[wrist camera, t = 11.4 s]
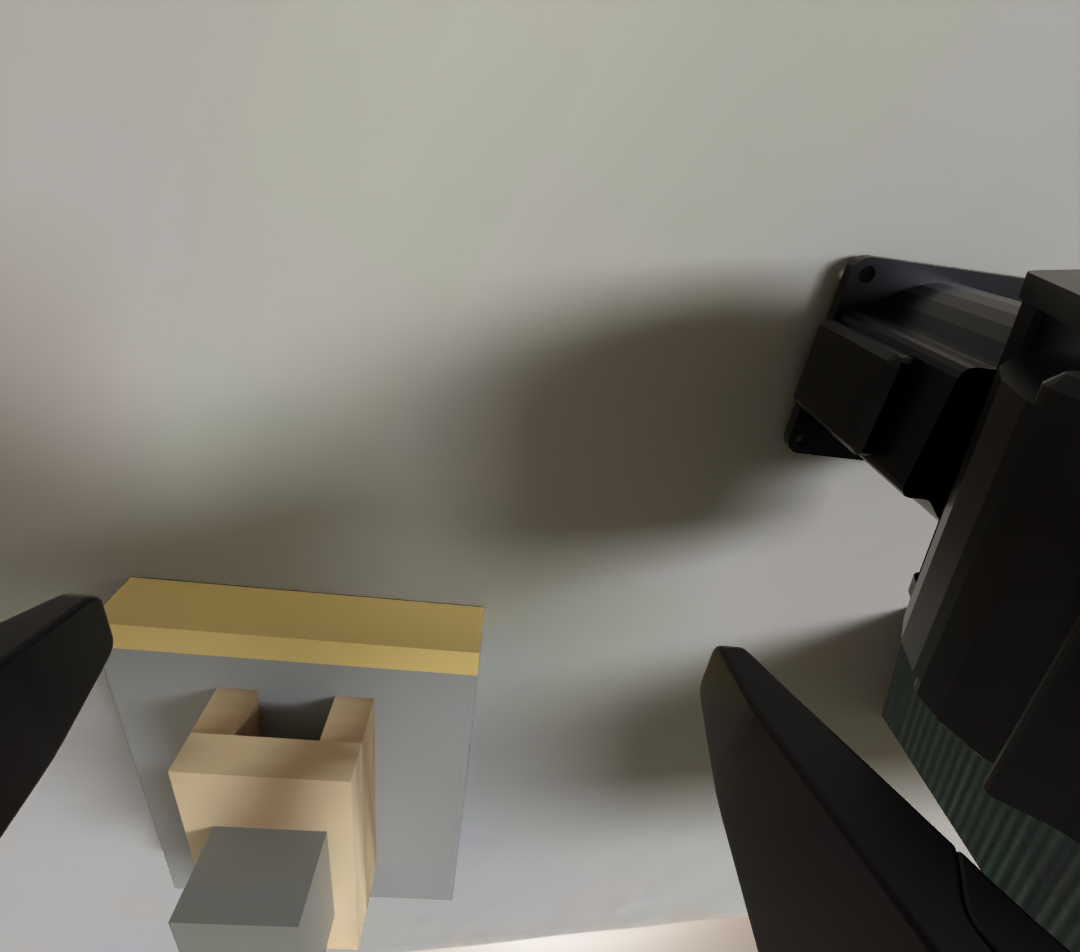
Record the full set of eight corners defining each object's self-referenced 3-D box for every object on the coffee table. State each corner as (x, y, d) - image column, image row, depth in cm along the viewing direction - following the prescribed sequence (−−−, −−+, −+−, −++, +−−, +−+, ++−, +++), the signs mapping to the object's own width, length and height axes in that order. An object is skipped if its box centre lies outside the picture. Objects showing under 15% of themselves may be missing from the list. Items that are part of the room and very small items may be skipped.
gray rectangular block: (326, 831, 21) (298, 927, 18) (334, 914, 24) (311, 1007, 21) (213, 826, 21) (168, 922, 18) (235, 911, 24) (199, 1004, 21)
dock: (484, 607, 24) (479, 653, 22) (457, 850, 32) (452, 900, 30) (130, 577, 23) (88, 622, 21) (199, 837, 31) (174, 888, 29)
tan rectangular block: (374, 698, 23) (350, 782, 20) (376, 864, 28) (358, 949, 25) (217, 687, 22) (167, 771, 19) (251, 858, 28) (217, 944, 25)
